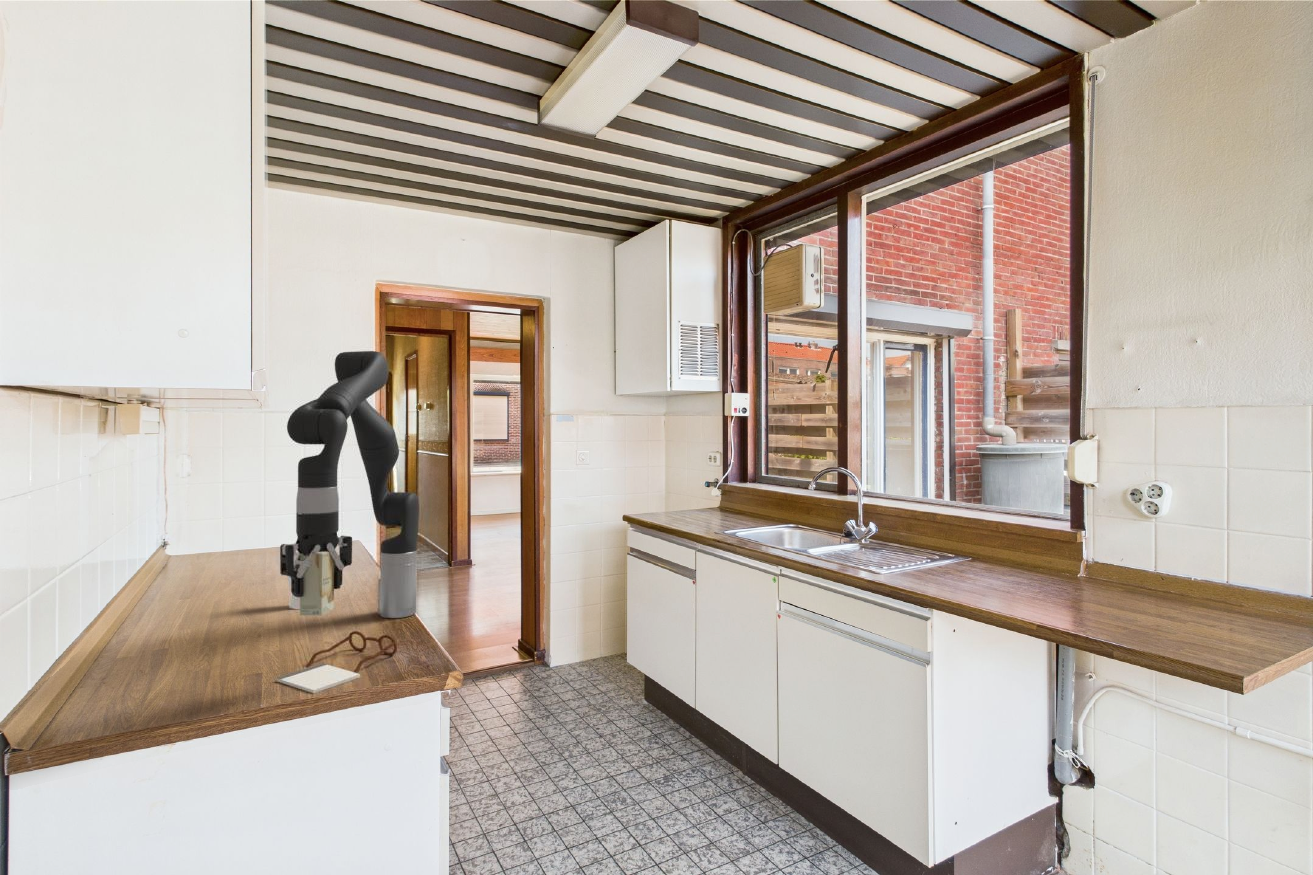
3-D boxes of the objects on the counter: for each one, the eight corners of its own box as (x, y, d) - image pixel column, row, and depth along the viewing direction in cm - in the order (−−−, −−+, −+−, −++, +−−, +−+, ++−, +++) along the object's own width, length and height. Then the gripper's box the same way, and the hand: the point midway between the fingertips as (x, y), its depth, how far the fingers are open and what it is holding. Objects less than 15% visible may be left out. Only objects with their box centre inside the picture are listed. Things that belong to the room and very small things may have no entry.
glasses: (398, 657, 150) (398, 634, 150) (354, 676, 138) (354, 652, 138) (351, 650, 155) (351, 628, 155) (304, 669, 143) (304, 645, 142)
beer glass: (306, 609, 188) (306, 556, 188) (281, 609, 188) (282, 555, 188) (319, 603, 195) (319, 551, 195) (295, 603, 195) (295, 551, 195)
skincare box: (321, 616, 131) (321, 553, 131) (298, 616, 131) (298, 553, 131) (335, 607, 138) (335, 547, 137) (313, 607, 137) (313, 547, 137)
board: (276, 681, 134) (276, 677, 134) (323, 666, 143) (323, 663, 143) (313, 693, 128) (313, 689, 128) (360, 677, 137) (360, 673, 137)
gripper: (338, 505, 142) (338, 583, 142) (270, 511, 130) (270, 597, 130) (361, 507, 138) (361, 587, 138) (294, 514, 126) (293, 602, 126)
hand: (317, 592), depth 134 cm, fingers closed on skincare box, 7 cm apart
